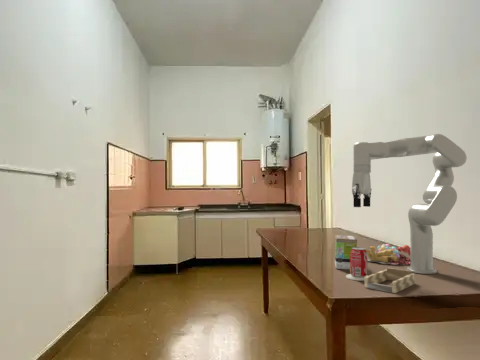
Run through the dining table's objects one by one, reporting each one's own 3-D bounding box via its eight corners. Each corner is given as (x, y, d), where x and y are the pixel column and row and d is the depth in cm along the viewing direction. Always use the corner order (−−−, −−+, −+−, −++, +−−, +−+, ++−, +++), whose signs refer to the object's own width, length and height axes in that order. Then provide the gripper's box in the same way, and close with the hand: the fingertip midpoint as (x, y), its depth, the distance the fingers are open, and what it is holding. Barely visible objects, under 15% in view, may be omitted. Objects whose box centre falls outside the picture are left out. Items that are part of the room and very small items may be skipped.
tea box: (357, 270, 182) (357, 238, 183) (335, 269, 184) (335, 238, 185) (354, 264, 197) (354, 235, 197) (334, 263, 199) (334, 234, 199)
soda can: (363, 274, 170) (364, 246, 170) (369, 278, 163) (369, 249, 163) (347, 274, 169) (348, 246, 170) (353, 277, 162) (353, 249, 163)
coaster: (352, 274, 173) (352, 272, 173) (374, 278, 166) (374, 276, 166) (341, 278, 166) (341, 276, 166) (363, 282, 159) (363, 280, 159)
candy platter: (406, 268, 189) (406, 249, 189) (359, 262, 203) (359, 244, 203) (417, 260, 209) (417, 243, 209) (374, 256, 223) (374, 240, 223)
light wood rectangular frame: (385, 278, 165) (385, 267, 165) (414, 283, 157) (414, 271, 157) (364, 287, 150) (364, 274, 150) (395, 293, 142) (395, 279, 142)
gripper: (362, 170, 185) (362, 206, 185) (345, 168, 172) (345, 207, 172) (377, 169, 180) (378, 206, 180) (361, 168, 167) (361, 207, 167)
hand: (362, 206), depth 176 cm, fingers open, 9 cm apart
